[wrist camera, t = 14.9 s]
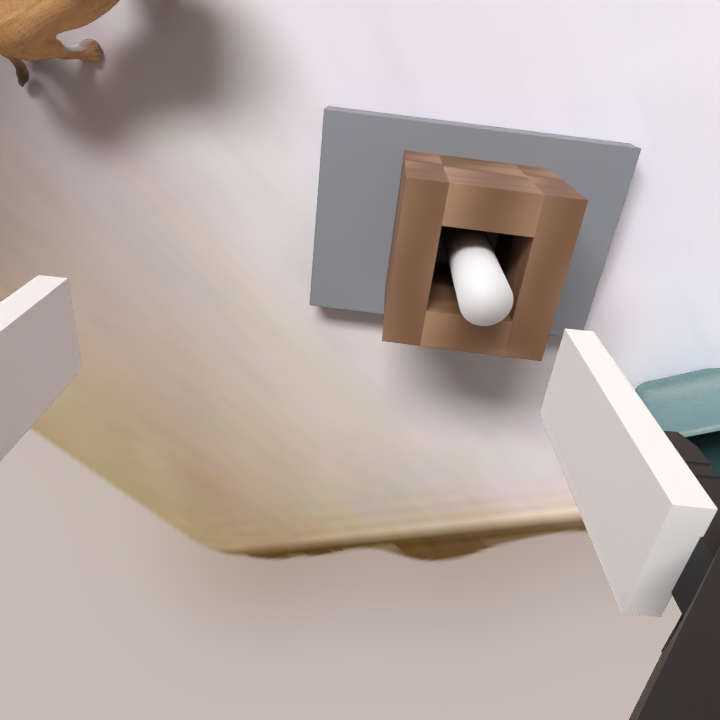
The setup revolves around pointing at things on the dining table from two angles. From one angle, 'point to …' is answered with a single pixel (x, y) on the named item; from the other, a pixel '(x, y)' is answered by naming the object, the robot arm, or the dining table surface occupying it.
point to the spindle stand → (456, 245)
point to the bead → (513, 251)
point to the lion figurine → (47, 30)
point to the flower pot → (688, 408)
